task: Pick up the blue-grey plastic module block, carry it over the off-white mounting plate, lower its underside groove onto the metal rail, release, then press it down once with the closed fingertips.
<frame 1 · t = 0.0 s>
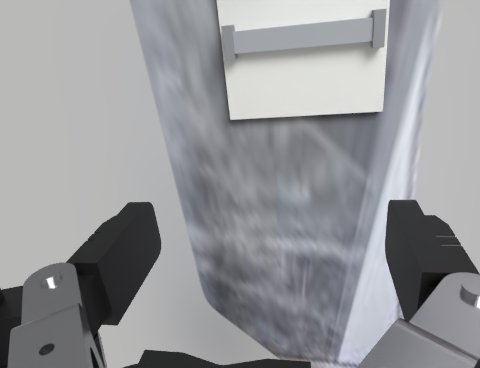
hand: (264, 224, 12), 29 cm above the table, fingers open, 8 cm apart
rail plate: (301, 34, 37), on the table
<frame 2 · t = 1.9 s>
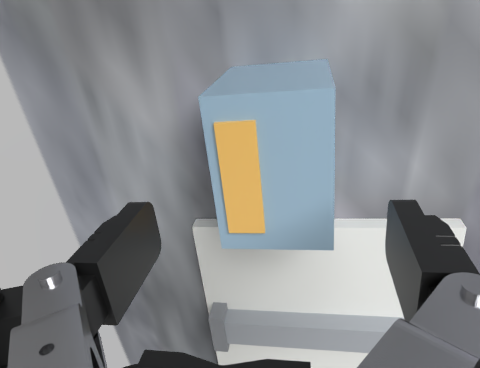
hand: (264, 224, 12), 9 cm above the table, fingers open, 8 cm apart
rail plate: (320, 313, 26), on the table
module: (281, 127, 21), on the table
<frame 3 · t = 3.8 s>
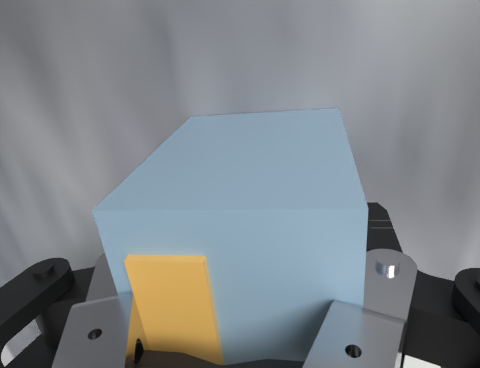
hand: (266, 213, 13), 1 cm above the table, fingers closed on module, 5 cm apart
module: (268, 203, 14), on the table, touching gripper
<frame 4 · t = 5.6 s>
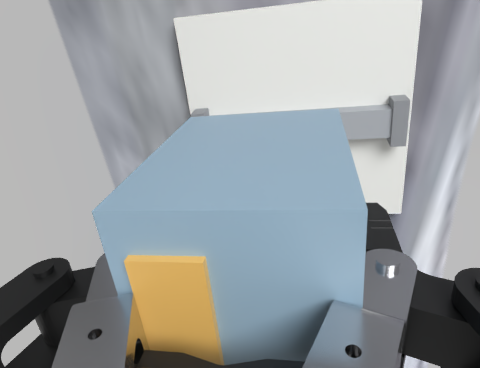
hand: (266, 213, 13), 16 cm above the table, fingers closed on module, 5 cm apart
rail plate: (295, 119, 28), on the table
module: (268, 204, 14), point 16 cm above the table, touching gripper
when the fingers open (3 cm above the table, at t = 7.7 s): module stays where it is, resting on rail plate.
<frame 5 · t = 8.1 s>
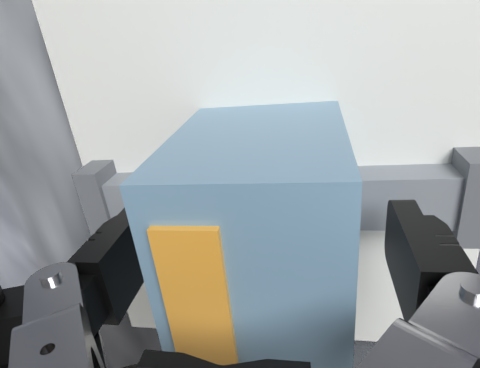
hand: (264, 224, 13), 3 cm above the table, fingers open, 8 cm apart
rail plate: (272, 180, 16), on the table
module: (272, 191, 15), point 1 cm above the table, touching rail plate
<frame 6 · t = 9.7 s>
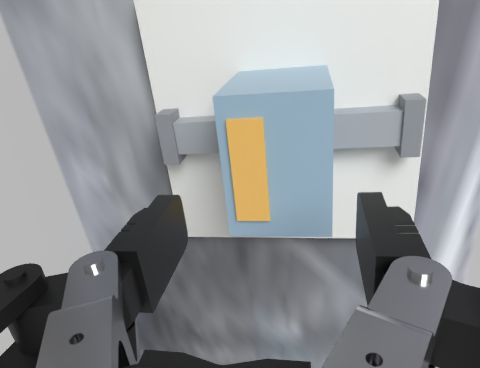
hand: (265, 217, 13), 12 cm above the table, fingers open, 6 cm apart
rail plate: (284, 123, 23), on the table
module: (284, 127, 22), point 1 cm above the table, touching rail plate
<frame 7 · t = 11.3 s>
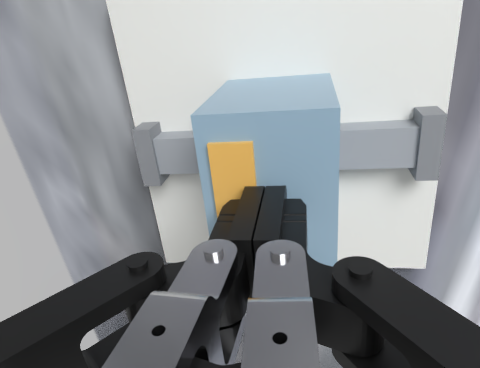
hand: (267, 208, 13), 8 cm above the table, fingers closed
rail plate: (281, 138, 20), on the table
module: (280, 144, 19), point 1 cm above the table, touching gripper, rail plate
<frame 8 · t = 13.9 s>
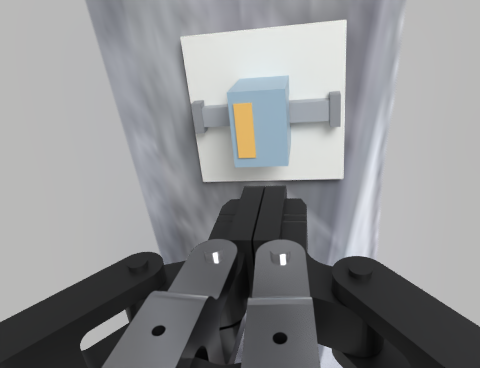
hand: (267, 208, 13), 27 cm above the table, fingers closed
rail plate: (266, 108, 39), on the table
module: (266, 111, 38), point 1 cm above the table, touching rail plate
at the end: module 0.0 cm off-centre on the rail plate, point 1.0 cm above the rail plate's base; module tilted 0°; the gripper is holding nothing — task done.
